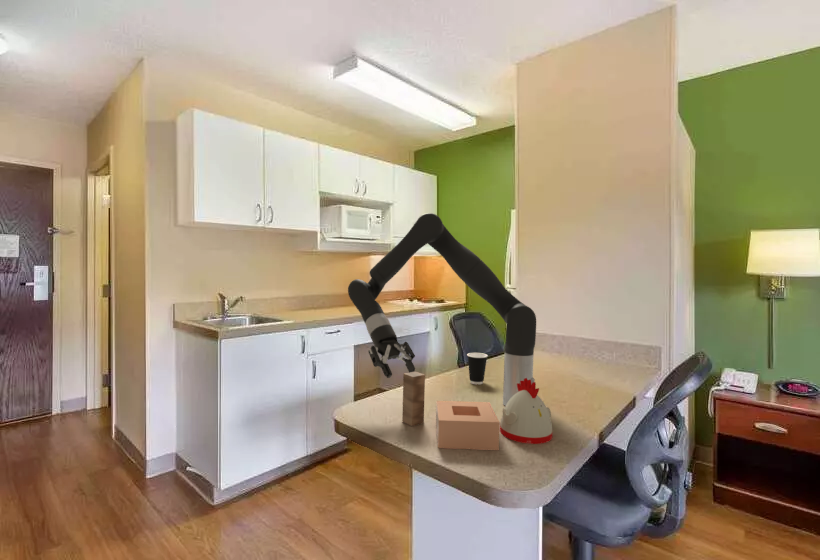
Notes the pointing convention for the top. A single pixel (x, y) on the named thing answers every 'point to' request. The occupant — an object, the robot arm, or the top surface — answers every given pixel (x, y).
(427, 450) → the top surface
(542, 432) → the kitchen timer
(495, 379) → the top surface
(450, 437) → the terracotta well block
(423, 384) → the walnut bar
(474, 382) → the dixie cup
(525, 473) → the top surface
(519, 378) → the robot arm
